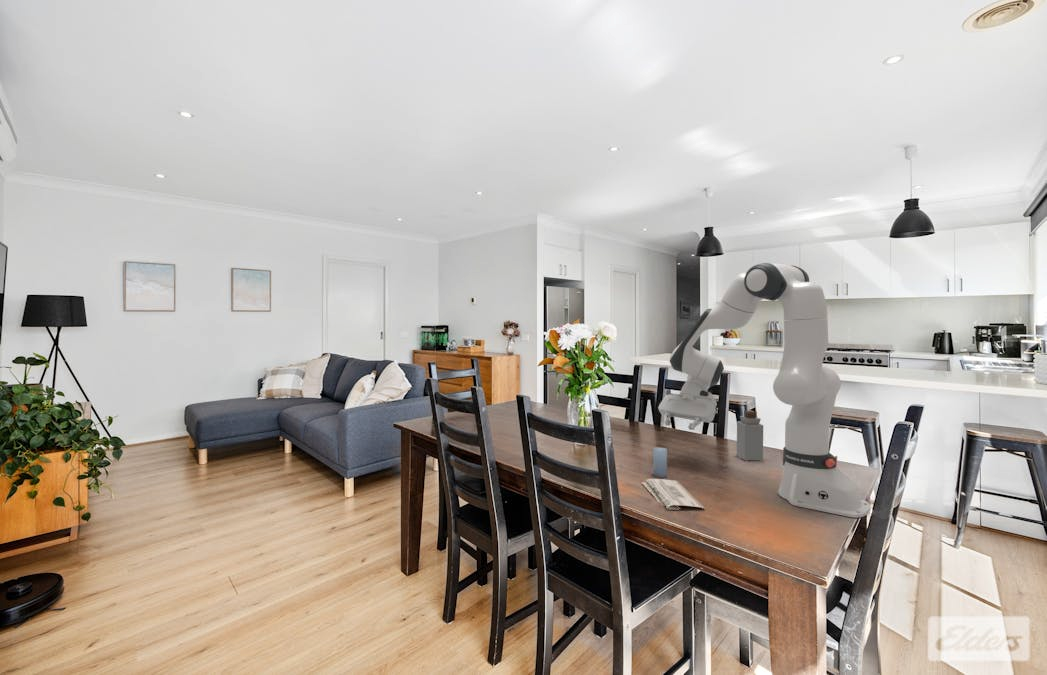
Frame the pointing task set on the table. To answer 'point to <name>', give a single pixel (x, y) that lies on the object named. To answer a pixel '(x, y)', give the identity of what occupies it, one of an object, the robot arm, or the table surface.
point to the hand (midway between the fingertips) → (678, 426)
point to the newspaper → (671, 493)
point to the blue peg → (660, 462)
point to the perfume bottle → (750, 437)
